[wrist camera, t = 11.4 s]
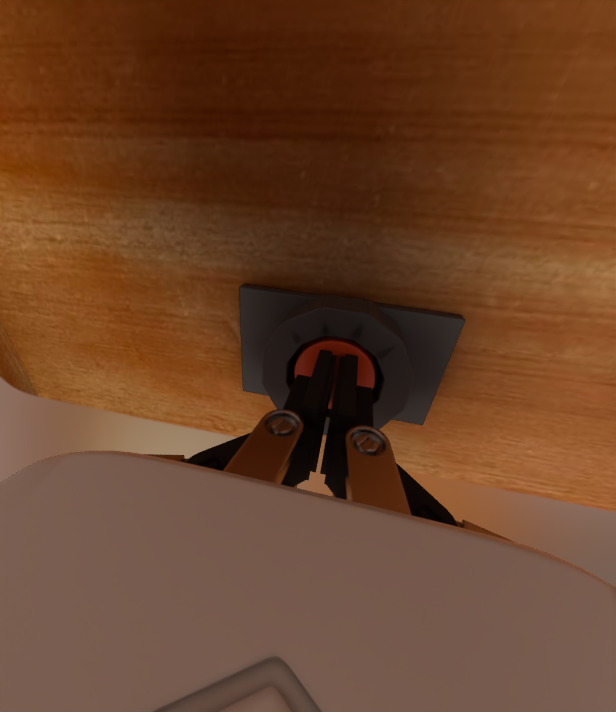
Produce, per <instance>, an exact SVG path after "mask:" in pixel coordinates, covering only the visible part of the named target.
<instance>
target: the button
mask: <svg viewBox="0 0 616 712" xmlns="http://www.w3.org/2000/svg"><path fill="white" fill-rule="evenodd" d="M320 349H321V350H327V351H332V355H337V356H336V363H335V369H334V375H333V381H332V387H331V393H330V399H329V405H328V409H331V408H332V402H333V397H334V391H335V385H336V379H337V374H338V368H339V362H340V356H343V357H345V356H346V354H351V355H357V356H358V373H357V385H359V386H365V387H370V388H372V390H373V388H374V385H375V361H374V356H373V354H371V353H370V352H369V351H367V350H366V349H365V348H363V347H362V346H361V345H359V344H358V343H357V342H355V341H354V340H350V339H344V338H337V337H331V336H324V337H321V338H318V339H315V340H312V341H309V342H307V343H305V345H304V346H303V348H302V351H301V353H300V355H299V357H298V359H297V362H296V365H295V370H294V375H295V379H296V376H297V375H298V374H299V375H304V376H310V377H311V376H312V373H313V370H314V367H315V364H316V361H317V358H318V355H319V351H320Z"/></svg>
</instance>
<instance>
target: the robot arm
mask: <svg viewBox="0 0 616 712" xmlns="http://www.w3.org/2000/svg"><path fill="white" fill-rule="evenodd" d="M336 356H337V355H332V351H327V350H321V349H320V351H319V355H318V358H317V361H316V364H315V367H314V370H313V373H312V376H311V377H310V376H304V375H299V374H298V375H297V376H296V379H295V381H294V383H293V386H292V388H291V390H290V393H289V395H288V398H287V400H286V402H285V405H284V407H283V409H277V410H273V411H271V412H269V413H267V414H266V415H265V416H264V417H263V418H262V419H261V420H260V422H259V423H258V424H257V426H256V427H255V428H254V430H253V431H252V432H251V433H249V434H246V435H244V436H241V437H238V438H236V439H233V440H231V441H228V442H226V443H223V444H220V445H218V446H215V447H212V448H210V449H207V450H205V451H202V452H200V453H197V454H195V455H194V456H192V457H191V458H189V459H185V458H184V455H148V454H137V453H131V452H120V451H85V452H75V453H68V454H63V455H58V456H54V457H50V458H46V459H44V460H41V461H38V462H36V463H34V464H32V465H30V466H27V467H25V468H24V469H22V470H20V471H18V472H17V473H15V474H13V475H11V476H10V477H8V478H7V479H5V480H4V481H2V482H0V712H616V587H614V586H613V585H611V584H609V583H607V582H605V581H604V580H602V579H600V578H598V577H597V576H595V575H593V574H591V573H589V572H587V571H585V570H583V569H582V568H580V567H578V566H575V565H573V564H571V563H568V562H566V561H564V560H562V559H560V558H557V557H555V556H553V555H551V554H548V553H545V552H542V551H539V550H537V549H534V548H531V547H528V546H526V545H522V544H519V543H516V542H513V541H511V540H509V539H507V538H504V537H502V536H500V535H497V534H495V533H493V532H491V531H488V530H486V529H484V528H481V527H479V526H477V525H474V524H472V523H470V522H467V521H465V520H463V521H462V522H461V523H460V522H458V521H455V519H454V518H453V516H452V515H451V514H450V513H449V512H448V510H447V509H446V508H445V507H444V506H442V505H441V504H440V503H439V502H438V501H437V500H436V499H435V498H434V497H433V496H432V495H431V494H429V493H428V492H427V491H426V490H425V489H424V488H423V487H422V486H421V485H420V484H419V483H417V482H416V481H415V480H414V479H413V478H412V477H411V476H410V475H409V474H408V473H407V472H406V471H404V470H403V469H402V468H401V467H400V466H399V465H398V464H397V463H396V461H395V458H394V455H393V451H392V448H391V444H390V442H389V440H388V438H387V437H386V436H385V435H384V433H382V432H381V431H379V430H378V429H376V428H374V423H373V396H372V388H370V387H365V386H359V385H357V373H358V356H357V355H351V354H346V356H345V357H343V356H340V362H339V368H338V374H337V379H336V385H335V391H334V397H333V402H332V408H331V414H330V420H329V426H328V431H327V437H326V443H325V449H324V455H323V461H322V466H321V474H325V475H326V477H325V484H326V485H327V486H328V487H329V489H330V490H331V491H332V493H333V496H328V495H324V494H319V493H315V492H311V491H306V490H302V489H298V488H297V484H299V483H301V482H303V481H305V480H309V475H310V471H312V472H316V468H317V463H318V458H319V453H320V447H321V442H322V437H323V432H324V426H325V421H326V416H327V411H328V405H329V399H330V393H331V387H332V381H333V375H334V369H335V363H336Z"/></svg>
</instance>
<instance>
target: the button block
mask: <svg viewBox="0 0 616 712" xmlns="http://www.w3.org/2000/svg"><path fill="white" fill-rule="evenodd" d="M239 301H240V327H241V354H242V381H243V391H247V392H252V393H258V394H263V395H268V396H270V398H271V400H272V401H273V403H274V405H275V406H276V408H277V409H283V407H284V405H285V402H286V400H287V398H288V395H289V393H290V390H291V388H292V386H293V383H294V381H295V375H294V370H295V365H296V362H297V359H298V357H299V355H300V353H301V351H302V348H303V346H304V345H305V343H307V342H309V341H312V340H315V339H318V338H321V337H324V336H331V337H337V338H344V339H350V340H354V341H355V342H357V343H358V344H359V345H361V346H362V347H363V348H365V349H366V350H367V351H369V352H370V353H371V354H373V356H374V361H375V385H374V388H373V390H372V396H373V423H374V428H376V429H378V430H379V429H380V428H381V427H383V426H384V425H385V424H386V423H388V422H389V421H390V420H397V421H403V422H408V423H413V424H418V425H423V423H424V421H425V418H426V416H427V413H428V411H429V409H430V406H431V404H432V401H433V399H434V396H435V394H436V391H437V389H438V386H439V384H440V381H441V379H442V377H443V374H444V372H445V369H446V367H447V364H448V362H449V359H450V357H451V354H452V352H453V349H454V347H455V345H456V342H457V340H458V337H459V335H460V332H461V330H462V327H463V325H464V322H465V319H464V318H463V316H461V315H457V314H450V313H443V312H436V311H429V310H422V309H415V308H408V307H401V306H394V305H387V304H380V303H373V302H370V301H367V300H364V299H357V298H350V297H343V296H336V295H328V296H327V295H318V294H311V293H304V292H297V291H290V290H283V289H276V288H269V287H262V286H255V285H248V284H243V285H241V286H240V287H239ZM330 414H331V409H328V411H327V416H326V421H325V426H324V432H323V434H325V435H327V431H328V426H329V420H330Z"/></svg>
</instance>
